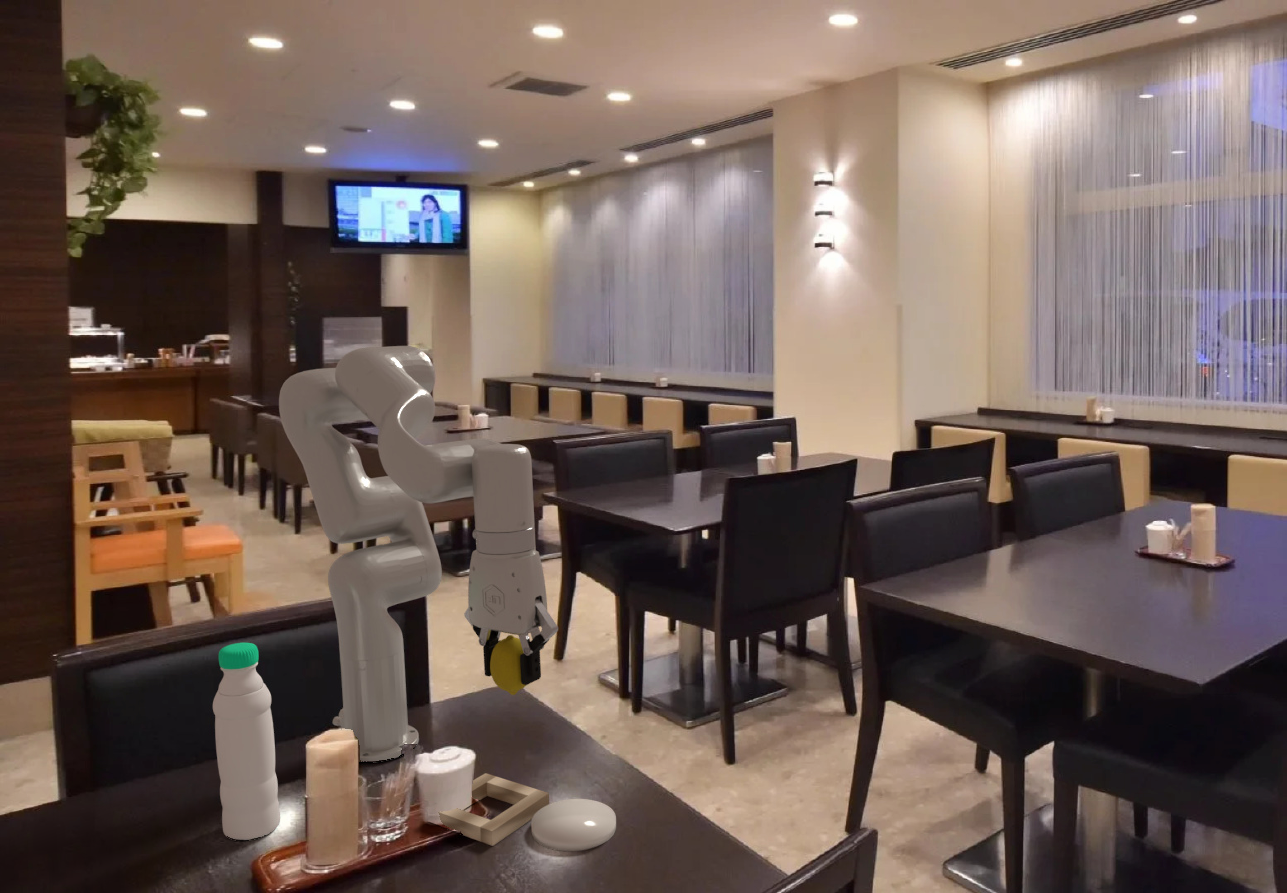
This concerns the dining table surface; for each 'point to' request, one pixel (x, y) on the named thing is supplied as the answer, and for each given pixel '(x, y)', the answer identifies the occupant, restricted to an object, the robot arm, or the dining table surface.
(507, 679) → the lemon
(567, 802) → the saucer
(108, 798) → the dining table surface
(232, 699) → the water bottle
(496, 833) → the frame
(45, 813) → the dining table surface
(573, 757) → the dining table surface
